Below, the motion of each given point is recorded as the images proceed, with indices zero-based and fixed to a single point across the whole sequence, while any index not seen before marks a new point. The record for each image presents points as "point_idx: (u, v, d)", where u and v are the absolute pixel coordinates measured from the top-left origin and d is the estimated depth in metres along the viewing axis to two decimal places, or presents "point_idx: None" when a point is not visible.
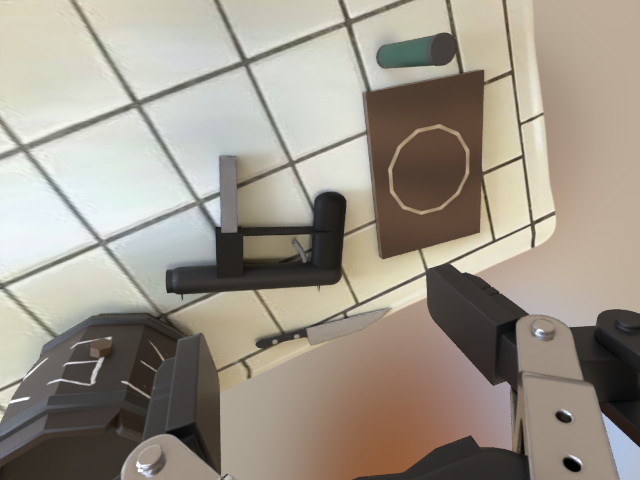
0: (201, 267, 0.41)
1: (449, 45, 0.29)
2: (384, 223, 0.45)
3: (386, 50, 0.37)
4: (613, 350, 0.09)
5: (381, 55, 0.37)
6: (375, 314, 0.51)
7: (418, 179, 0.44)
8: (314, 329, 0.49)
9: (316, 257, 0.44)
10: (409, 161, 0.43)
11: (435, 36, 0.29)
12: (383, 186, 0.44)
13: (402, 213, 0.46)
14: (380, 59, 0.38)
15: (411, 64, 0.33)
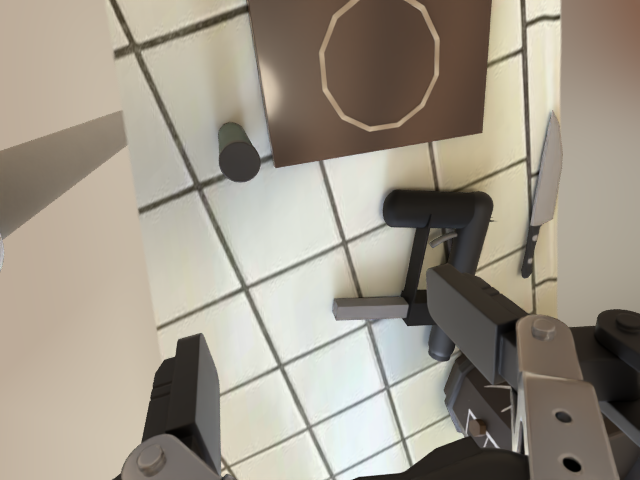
0: (433, 329, 0.43)
1: (234, 154, 0.21)
2: (436, 132, 0.34)
3: None
4: (613, 350, 0.09)
5: None
6: (550, 136, 0.38)
7: (389, 82, 0.31)
8: (536, 217, 0.41)
9: (455, 226, 0.37)
10: (363, 99, 0.31)
11: (224, 174, 0.21)
12: (389, 136, 0.33)
13: (429, 105, 0.33)
14: None
15: None
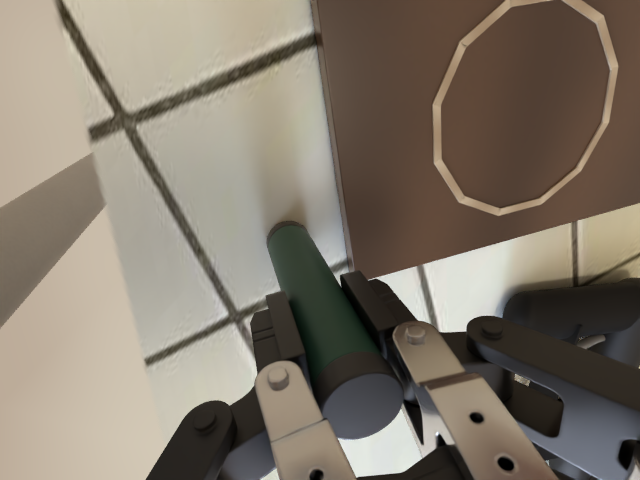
0: None
1: (354, 395, 0.09)
2: (592, 205, 0.22)
3: None
4: (478, 355, 0.10)
5: None
6: None
7: (534, 141, 0.20)
8: None
9: (607, 332, 0.26)
10: (494, 170, 0.20)
11: None
12: (526, 219, 0.21)
13: (587, 168, 0.21)
14: None
15: None
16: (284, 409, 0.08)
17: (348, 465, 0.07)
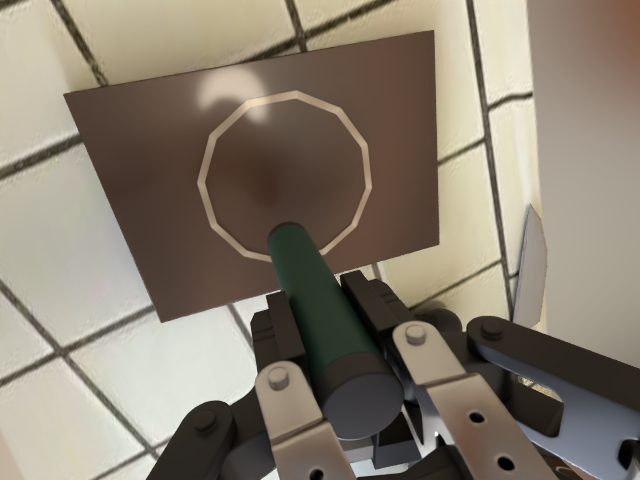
0: None
1: (354, 396, 0.09)
2: (377, 253, 0.26)
3: None
4: (477, 355, 0.10)
5: None
6: (530, 234, 0.30)
7: (304, 205, 0.24)
8: (518, 323, 0.33)
9: None
10: (271, 229, 0.24)
11: None
12: None
13: (363, 224, 0.25)
14: None
15: None
16: (284, 409, 0.08)
17: (348, 465, 0.07)
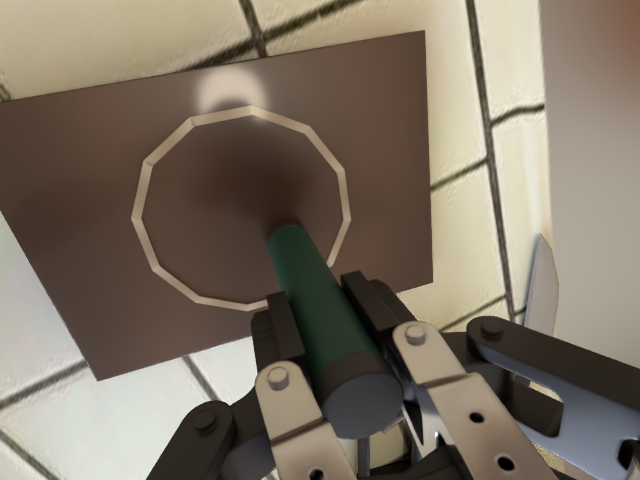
0: None
1: (354, 395, 0.09)
2: None
3: None
4: (478, 355, 0.10)
5: None
6: (539, 267, 0.26)
7: None
8: None
9: None
10: (228, 271, 0.20)
11: None
12: None
13: (342, 261, 0.21)
14: None
15: None
16: (284, 409, 0.08)
17: (348, 465, 0.07)
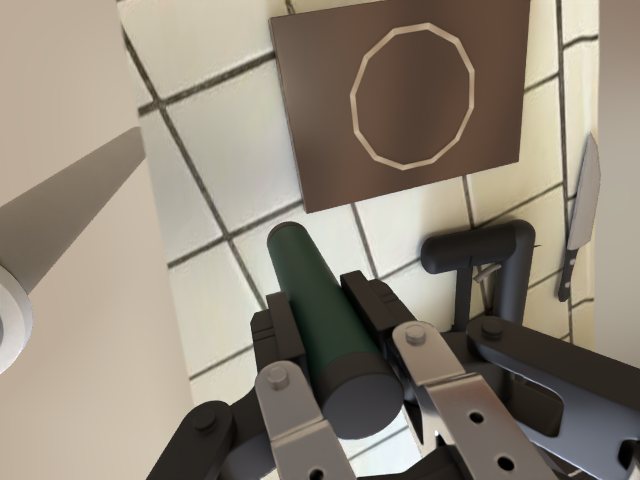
0: None
1: (354, 396, 0.09)
2: (471, 165, 0.33)
3: None
4: (477, 355, 0.10)
5: None
6: (588, 159, 0.36)
7: (422, 119, 0.30)
8: (573, 240, 0.40)
9: (498, 260, 0.36)
10: (396, 138, 0.30)
11: None
12: (423, 173, 0.32)
13: (464, 139, 0.31)
14: None
15: None
16: (284, 409, 0.08)
17: (348, 465, 0.07)
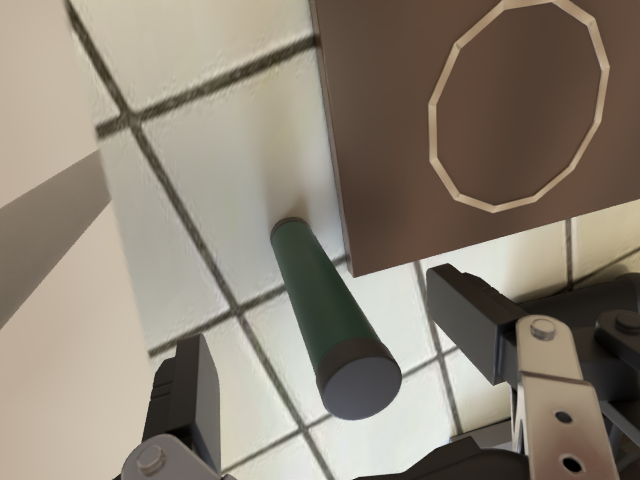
0: None
1: (354, 378, 0.10)
2: (585, 203, 0.23)
3: None
4: (612, 350, 0.09)
5: None
6: None
7: (528, 140, 0.20)
8: None
9: None
10: (488, 168, 0.20)
11: None
12: (520, 216, 0.22)
13: (580, 167, 0.22)
14: None
15: None
16: None
17: None
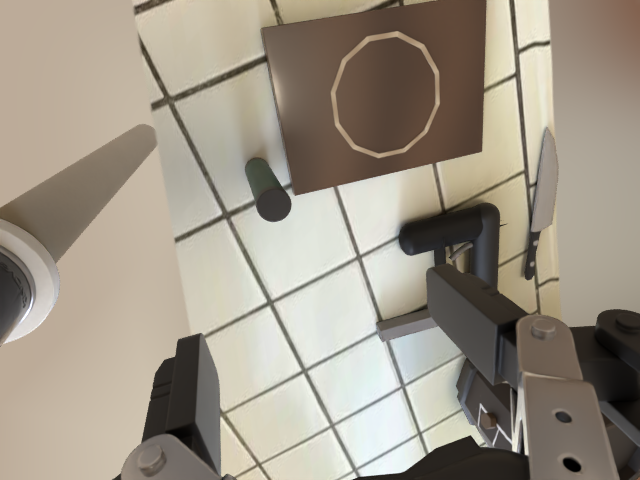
0: None
1: (269, 199, 0.24)
2: (439, 154, 0.37)
3: None
4: (613, 350, 0.09)
5: None
6: (546, 149, 0.41)
7: (395, 113, 0.35)
8: (536, 223, 0.44)
9: (468, 240, 0.41)
10: (372, 130, 0.35)
11: (261, 216, 0.25)
12: (396, 161, 0.37)
13: (432, 131, 0.36)
14: None
15: None
16: None
17: None
